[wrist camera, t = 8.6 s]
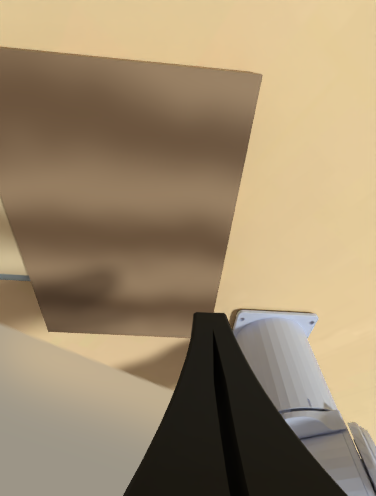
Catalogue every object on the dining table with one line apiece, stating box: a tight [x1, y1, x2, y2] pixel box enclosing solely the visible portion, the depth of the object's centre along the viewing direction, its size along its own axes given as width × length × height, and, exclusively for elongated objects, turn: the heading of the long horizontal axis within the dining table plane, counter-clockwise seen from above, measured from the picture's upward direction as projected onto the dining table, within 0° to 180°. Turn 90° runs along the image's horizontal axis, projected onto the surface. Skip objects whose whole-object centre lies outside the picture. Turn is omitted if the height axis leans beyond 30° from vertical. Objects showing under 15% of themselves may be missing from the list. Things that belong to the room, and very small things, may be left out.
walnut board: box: [0, 47, 262, 338], centre depth 19 cm, size 20×14×3 cm
